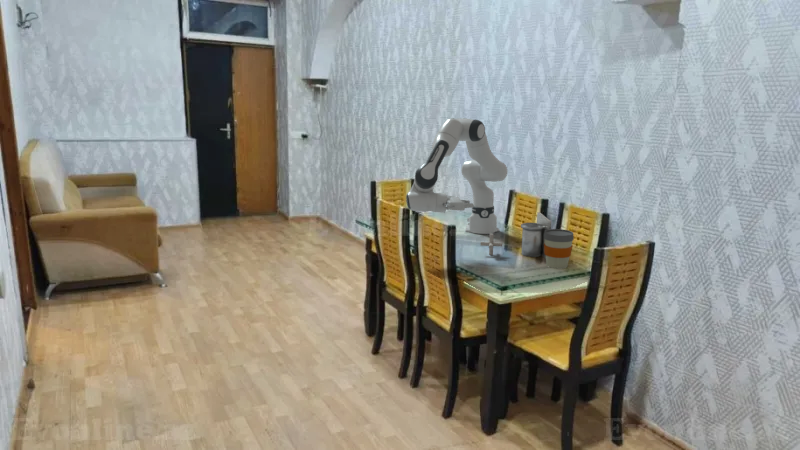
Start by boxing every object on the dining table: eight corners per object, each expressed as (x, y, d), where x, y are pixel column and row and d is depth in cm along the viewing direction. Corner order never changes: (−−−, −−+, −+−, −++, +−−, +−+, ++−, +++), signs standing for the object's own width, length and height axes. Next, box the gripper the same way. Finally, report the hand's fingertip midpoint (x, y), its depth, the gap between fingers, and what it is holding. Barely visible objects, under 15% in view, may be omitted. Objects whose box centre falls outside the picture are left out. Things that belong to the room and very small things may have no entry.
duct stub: (515, 248, 271) (517, 212, 267) (538, 248, 271) (539, 212, 267) (524, 260, 252) (526, 221, 248) (549, 260, 252) (551, 221, 248)
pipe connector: (501, 258, 256) (502, 237, 254) (479, 257, 258) (480, 236, 256) (502, 252, 265) (502, 231, 263) (481, 251, 267) (481, 231, 265)
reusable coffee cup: (537, 262, 249) (538, 229, 245) (562, 260, 252) (564, 228, 248) (550, 270, 237) (552, 236, 233) (577, 268, 240) (579, 234, 236)
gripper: (445, 199, 244) (476, 200, 245) (439, 193, 264) (467, 194, 265) (444, 213, 245) (475, 214, 246) (438, 206, 265) (467, 207, 266)
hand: (471, 204), depth 256 cm, fingers open, 8 cm apart
